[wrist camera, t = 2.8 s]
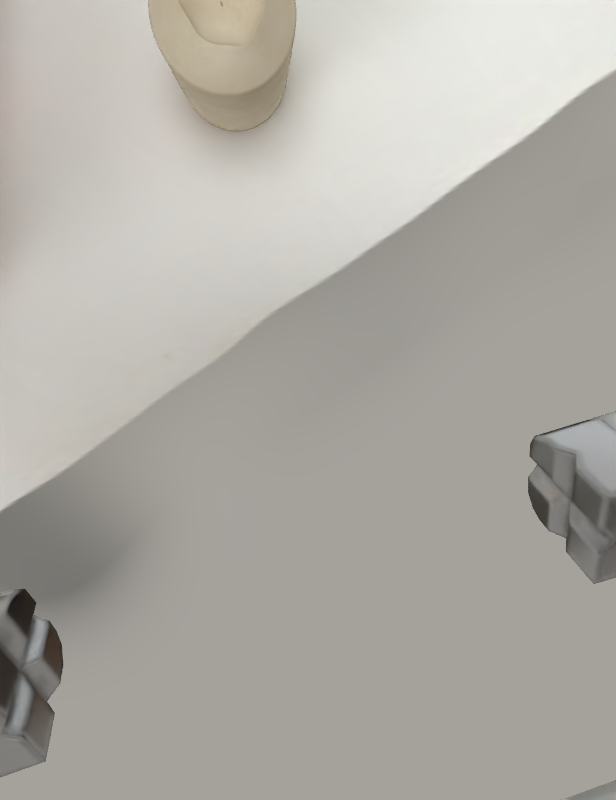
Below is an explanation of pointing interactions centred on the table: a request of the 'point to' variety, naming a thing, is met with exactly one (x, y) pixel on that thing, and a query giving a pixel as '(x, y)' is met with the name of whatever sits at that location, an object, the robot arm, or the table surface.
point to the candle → (227, 55)
